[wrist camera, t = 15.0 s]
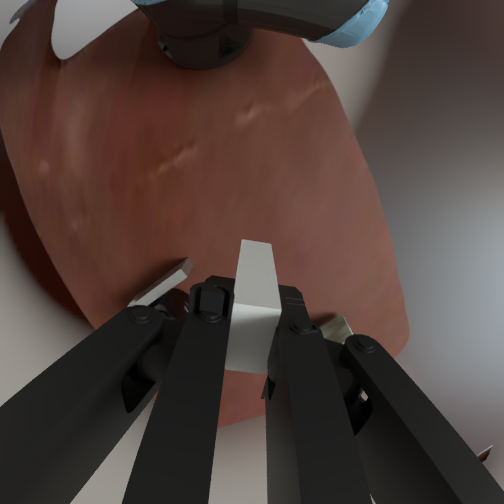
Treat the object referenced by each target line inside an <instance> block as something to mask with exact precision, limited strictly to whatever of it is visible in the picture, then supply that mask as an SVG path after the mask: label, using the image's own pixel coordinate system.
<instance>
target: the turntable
mask: <svg viewBox="0 0 504 504" xmlns="http://www.w3.org/2000/svg"><path fill="white" fill-rule="evenodd" d="M320 329H321V331H322V334H323V337H324V338H326V339H329V340H331V341H335V342H338V343H342V344H344V342H345V340H346V338H347V337H348V336H350V335H353V333H352V331H351V329H350V327H349V325H348V323H347V321H346V319H345V318H344V316H343V315H342V314H341V315H339V316H338V317H336V318H335V319H333V320H331V321H330V322H328V323H327V324H325V325H323V326H322V327H320ZM267 367H268V365H267Z"/></svg>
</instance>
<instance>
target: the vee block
mask: <svg viewBox="0 0 504 504" xmlns="http://www.w3.org/2000/svg"><path fill="white" fill-rule="evenodd" d="M193 266H194V264H193V263H192V261H191V260H190V259H189V258H186V259H185V260H184V261H182V262H181V263H180V264H178V265H177V266H176V267H174V268H173V269H172V270H170V271H169V272H167V273H166V274H165V275H163V276H162V277H161V278H160V279H158V280H157V281H156V282H154V283H153V284H152V285H150V286H149V287H148V288H146V289H145V290H141V291H139V292H138V293H137V294H136V296H135V297H134V298H133V300H132V301H131V302H130V303H129V305H128V306H127V307H129V306H134V305H146V306H150V307H153V306H154V302H153V301H154V300H156V299H157V298H159V297H160V296H161V295H163V294H164V293H166V292H167V291H168V290H170V289H171V288H173V287H174V286H175V285H177V284H178V283H180V282H181V281H182V280H184V279H185V278H187V277H188V275H189V273H190V271H191V269H192V268H193Z"/></svg>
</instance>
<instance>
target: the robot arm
mask: <svg viewBox="0 0 504 504" xmlns="http://www.w3.org/2000/svg"><path fill="white" fill-rule="evenodd" d="M131 1H132V2H133V3H135V5H136V6H137V7H138V8H139V9H140V10H141V11H142V12H143V13H144V14H145V15H146V16H147V17H148V18H149V19H150V20H151V21H152V23H153V24H154V25H155V26H156V34H157V42H158V45H159V47H160V49H161V50H162V52H163V53H164V54H165V55H166V56H167V57H168V58H169V59H170V60H171V61H172V62H174V63H175V64H177V65H179V66H182V67H185V68H189V69H196V70H202V69H211V68H215V67H219V66H222V65H224V64H226V63H228V62H230V61H232V60H234V59H235V58H236V57H238V56H239V55H240V54H241V53H242V52H243V51H244V50H245V49H246V48H247V46H248V45H249V43H250V41H251V39H252V36H253V32H254V28H258V29H264V30H269V31H274V32H279V33H284V34H288V35H292V36H297V37H301V38H305V39H307V40H308V41H310V42H314V43H319V42H320V43H324V44H328V45H331V46H335V47H339V48H348V47H352V46H355V45H357V44H359V43H360V42H362V41H363V40H364V39H366V38H367V37H368V35H370V34H371V33H372V31H373V30H374V29H375V28H376V26H377V25H378V23H379V22H380V20H381V19H382V17H383V15H384V14H385V12H386V10H387V7H388V5H387V2H388V1H389V0H131ZM303 300H304V299H303V296H302V293H301V292H300V291H299V290H298V289H297V288H296V287H291V286H284V285H278V283H277V277H276V271H275V265H274V259H273V253H272V247H271V244H268V243H262V242H256V241H249V240H243V239H242V243H241V249H240V255H239V262H238V268H237V274H236V279H232V278H226V277H220V276H214V275H212V276H210V277H209V278H207V279H206V280H205V282H203V283H198V284H195V285H193V286H192V287H191V288H190V297H189V311H188V315H187V317H185V318H181V319H173V320H162V314H161V313H160V312H159V311H158V310H157V309H155V308H153V307H150V306H146V305H134V306H129V307H127V308H125V309H123V310H122V311H121V312H119V313H118V314H117V315H115V316H114V317H113V318H111V319H110V320H109V321H107V322H106V323H105V324H103V325H102V326H101V327H99V328H98V329H97V330H95V331H94V332H93V333H92V334H90V335H89V336H88V337H86V338H85V339H84V340H82V341H81V342H80V343H79V344H77V345H76V346H75V347H73V348H72V349H71V350H70V351H68V352H67V353H66V354H65V355H64V356H62V357H61V358H60V359H58V360H57V361H56V362H54V363H53V364H52V365H51V366H49V367H48V368H47V369H46V370H44V371H43V372H42V373H41V374H39V375H38V376H37V377H36V378H34V379H33V380H32V381H31V382H30V383H28V384H27V385H26V386H25V387H23V388H22V389H21V390H20V391H19V392H17V393H16V394H15V395H14V396H13V397H11V398H10V399H9V400H8V401H7V402H5V403H4V404H3V405H2V406H1V407H0V504H70V503H71V501H72V500H73V499H74V497H75V496H76V495H77V494H78V493H79V491H80V490H81V489H82V488H83V486H84V485H85V484H86V483H87V481H88V480H89V479H90V477H91V476H92V475H93V474H94V472H95V471H96V470H97V469H98V467H99V466H100V465H101V463H102V462H103V461H104V459H105V458H106V457H107V456H108V454H109V453H110V452H111V451H112V449H113V448H114V447H115V446H116V444H117V443H118V442H119V440H120V439H121V438H122V437H123V435H124V434H125V433H126V431H127V430H128V429H129V428H130V426H131V425H132V424H133V422H134V421H135V420H136V418H137V417H138V416H139V415H140V413H141V412H142V410H143V409H144V408H145V407H146V405H147V404H148V403H149V402H150V400H151V399H152V398H153V396H154V395H155V394H156V393H157V391H158V390H159V392H158V394H157V397H156V400H155V403H154V406H153V409H152V412H151V414H150V417H149V420H148V423H147V426H146V429H145V432H144V435H143V438H142V441H141V444H140V447H139V450H138V453H137V456H136V459H135V462H134V465H133V468H132V472H131V475H130V478H129V481H128V484H127V488H126V491H125V495H124V498H123V501H122V504H208V499H209V491H210V482H211V474H212V465H213V457H214V449H215V440H216V432H217V424H218V416H219V408H220V400H221V392H222V385H223V377H224V369H227V370H234V371H242V372H249V373H258V374H265V372H266V368H267V365H268V375H267V379H266V382H265V386H264V389H263V392H262V396H261V399H264V397H265V405H266V442H267V443H266V446H267V494H268V495H267V496H268V504H372V500H371V496H372V498H373V499H374V501H375V503H376V504H504V491H503V490H502V489H501V487H500V486H499V484H498V483H497V482H496V481H495V479H494V478H493V477H492V475H491V474H490V473H489V471H488V470H487V469H486V468H485V466H484V465H483V464H482V463H481V461H480V460H479V459H478V458H477V456H476V455H475V454H474V453H473V451H472V450H471V449H470V448H469V446H468V445H467V444H466V443H465V441H464V440H463V439H462V438H461V437H460V436H459V434H458V433H457V432H456V431H455V430H454V428H453V427H452V426H451V425H450V423H449V422H448V421H447V420H446V419H445V417H444V416H443V415H442V414H441V413H440V411H439V410H438V409H437V408H436V407H435V406H434V404H433V403H432V402H431V401H430V400H429V399H428V397H427V396H426V395H425V394H424V393H423V392H422V391H421V390H420V388H419V387H418V386H417V385H416V384H415V382H414V381H413V380H412V379H411V378H410V377H409V376H408V375H407V373H406V372H405V371H404V370H403V369H402V368H401V367H400V365H399V364H398V363H397V362H396V361H395V360H394V359H393V358H392V357H391V355H390V354H389V353H388V352H387V351H386V350H385V349H384V348H383V347H382V345H381V344H380V343H378V342H377V341H376V340H375V339H373V338H371V337H369V336H365V335H362V334H353V335H350V336H348V337H347V338H346V340H345V342H344V344H342V343H338V342H335V341H331V340H329V339H326V338H324V337H323V334H322V331H321V329H320V328H319V326H318V325H316V324H315V323H314V322H312V321H310V319H309V316H308V312H307V309H306V306H305V303H304V301H303ZM363 391H365V393H366V394H367V396H368V399H367V400H366V401H365V400H364V399H363V398H362V397H361V394H362V392H363ZM370 494H371V496H370Z"/></svg>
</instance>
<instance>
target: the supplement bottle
mask: <svg viewBox="0 0 504 504" xmlns="http://www.w3.org/2000/svg"><path fill="white" fill-rule="evenodd" d="M189 297H190V296H189V295H188V294H187V293H186V292H184V291H182V290H179V289H170V290H168V291H167V292H166V293H164V294H163V295H161V296H160V297H159V298H158V300H157V301H156V303H155V304H154V306H153V308H155V309H157V310H158V311H159V312H160V313H161V314H162V320H173V319H181V318H185V317H187V315H188V311H189Z"/></svg>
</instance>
